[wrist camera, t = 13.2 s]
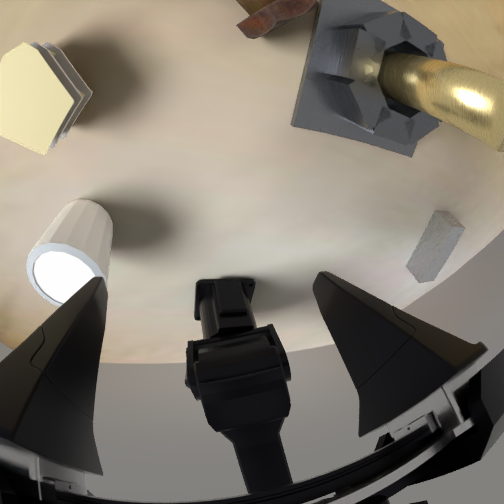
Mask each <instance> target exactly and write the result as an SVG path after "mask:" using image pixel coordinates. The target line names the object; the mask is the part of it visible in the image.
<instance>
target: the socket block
mask: <svg viewBox="0 0 504 504" xmlns="http://www.w3.org/2000/svg"><path fill="white" fill-rule="evenodd" d="M319 5H320V6H318V10H317V15H316V19H315V23H314V28H313V32H312V36H311V41H310V45H309V49H308V53H307V58H306V62H305V66H304V70H303V75H302V79H301V83H300V87H299V92H298V96H297V100H296V104H295V108H294V113H293V117H292V121H291V125H292V126H294V127H299V128H304V129H309V130H314V131H319V132H323V133H328V134H332V135H337V136H341V137H345V138H349V139H353V140H356V141H360V142H364V143H367V144H371V145H374V146H378V147H381V148H384V149H387V150H390V151H394V152H397V153H400V154H403V155H406V156H409V157H411V158H412V155H413V152H414V150H415V147H416V144H417V141H418V140H419V139H421V138H422V137H424V136H425V135H427V134H428V133H429V132H431V131H432V130H434V129H435V128H437V127H438V126H439V124H438V121H440V122H442V120H440V119H438V118H436V117H434V116H431V115H429V114H427V113H424V112H422V111H420V110H417V109H415V108H412V107H410V106H407V105H405V104H402V103H399V102H397V101H394V100H391V99H388V98H385V97H384V95H383V93H382V90H381V88H380V86H379V83H378V81H377V78H378V74H379V70H380V66H381V62H382V58H383V54H384V51H392V52H400V53H407V54H413V55H419V56H424V57H429V58H434V59H438V60H443V61H447V59H446V56H445V53H444V50H443V48H444V44H443V43H442V42H441V41H440V40H439V39H437V35H436V34H434V33H433V32H432V31H431V30H429V29H428V28H427V27H425V26H424V25H422V24H421V23H420V22H418V21H417V20H415V19H414V18H413V17H411V16H410V15H408V14H407V13H405V12H400V11H398V10H396V9H394V8H393V7H391V6H389V5H388V4H386V3H384V2H382V1H381V0H320V1H319Z"/></svg>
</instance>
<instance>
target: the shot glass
mask: <svg viewBox="0 0 504 504" xmlns="http://www.w3.org/2000/svg"><path fill="white" fill-rule="evenodd" d="M112 237H113V222H112V220H111V218H110V216H109V213H108V212H107V211H106V210H105V209H104V208H103V207H102V206H101V205H99V204H97V203H95V202H93V201H91V200H83V199H77V200H75V201H72V202H69V203H68V204H67V205H66V206H65V207H64V208H63V209H62V210H61V212H60V213H59V214H58V215H57V217H56V218H55V219H54V220H53V222H52V223H51V224H50V226H49V227H48V228H47V230H46V231H45V232H44V234H43V235H42V237H41V238H40V239H39V241H38V242H37V244H36V245H35V247H34V248H33V250H32V251H31V253H30V254H29V256H28V257H27V265H26V271H27V274H28V277H29V280H30V283H31V284H32V285H33V287H34V288H35V289H36V291H37V292H38V293H39V294H40V295H41V296H42V297H44V298H45V299H46V300H48V301H49V302H51V303H52V304H55V305H57V306H61V305H63V304H64V303H65V302H66V301H67V300H68V299H69V298H70V297H71V296H72V295H73V294H75V293H76V292H77V291H78V290H79V289H80V288H81V287H82V286H84V285H85V284H86V283H87V282H88V281H89V280H90V279H92V278H93V277H95V276H102V277H103V278H104V280H105V284H106V288H107V285H108V273H109V262H110V253H111V245H112Z"/></svg>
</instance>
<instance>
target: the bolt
mask: <svg viewBox="0 0 504 504" xmlns="http://www.w3.org/2000/svg"><path fill="white" fill-rule="evenodd" d="M236 1H237V2H238V3H239V4H240V5H241V6H242V7H243V8H244V9H245V10H246V12H247V13H248V14H249V15H250V16H249V17H248V18H246V19H245V20H243V21H242V22H240V23H239V24H237V27H238V28H239V29H240V30H241V31H242V32H243V33H244V35H245V36H246V37H247V38H251V39H256V38H258V37H260V36H262V35H264V34H266V33H268V32H270V31H272V30H274V29H275V28H277V27H279V26H281V25H283V24H285V23H287V22H289V21H290V20H292V19H294V18H296V17H299V16H301V15H303V14H305V13H307V12H309V11H311V10H313V9H314V8H316V7H318V6H320V5H319V3H318V2H317V1H316V0H236Z"/></svg>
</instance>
